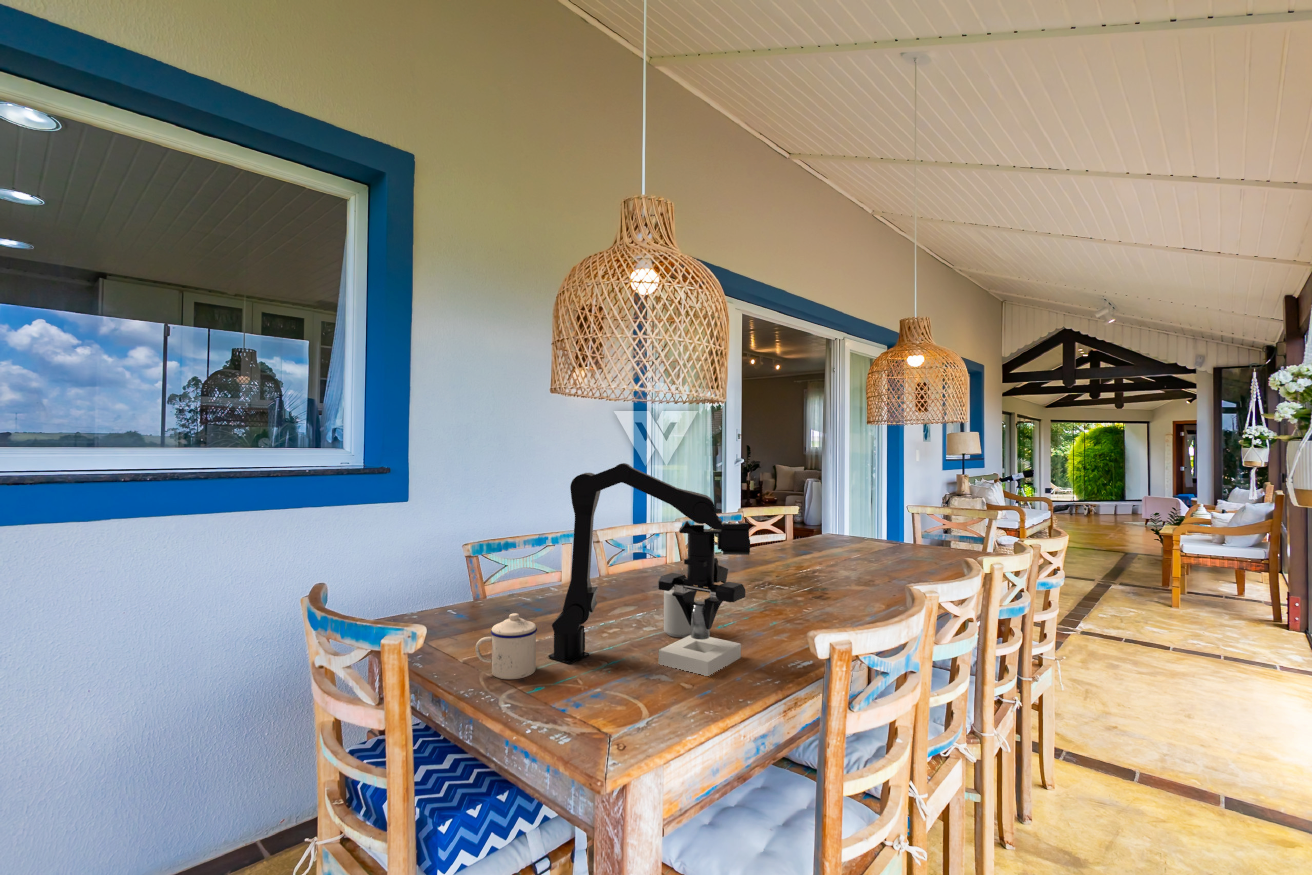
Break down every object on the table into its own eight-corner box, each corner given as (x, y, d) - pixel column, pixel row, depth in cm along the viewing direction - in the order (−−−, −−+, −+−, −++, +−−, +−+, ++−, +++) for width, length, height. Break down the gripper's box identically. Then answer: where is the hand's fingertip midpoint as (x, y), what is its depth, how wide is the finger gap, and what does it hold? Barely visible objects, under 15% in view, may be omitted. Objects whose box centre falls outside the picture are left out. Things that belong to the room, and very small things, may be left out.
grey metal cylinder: (703, 640, 131) (703, 607, 131) (687, 637, 133) (687, 604, 133) (713, 635, 134) (713, 603, 134) (697, 632, 136) (697, 600, 136)
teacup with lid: (535, 662, 132) (536, 607, 132) (537, 678, 123) (537, 619, 123) (476, 666, 129) (477, 610, 129) (474, 683, 120) (474, 622, 120)
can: (658, 635, 151) (658, 585, 151) (671, 627, 157) (672, 579, 157) (686, 640, 147) (686, 589, 147) (699, 631, 154) (699, 582, 154)
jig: (707, 677, 124) (708, 661, 124) (658, 664, 131) (658, 649, 131) (740, 657, 136) (740, 643, 136) (693, 646, 143) (693, 633, 143)
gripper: (757, 553, 135) (756, 626, 135) (684, 544, 146) (683, 611, 146) (732, 561, 126) (732, 639, 126) (656, 551, 136) (656, 622, 136)
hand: (700, 627), depth 134 cm, fingers closed on grey metal cylinder, 4 cm apart
